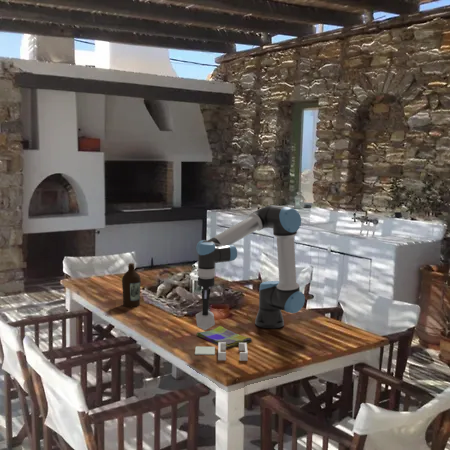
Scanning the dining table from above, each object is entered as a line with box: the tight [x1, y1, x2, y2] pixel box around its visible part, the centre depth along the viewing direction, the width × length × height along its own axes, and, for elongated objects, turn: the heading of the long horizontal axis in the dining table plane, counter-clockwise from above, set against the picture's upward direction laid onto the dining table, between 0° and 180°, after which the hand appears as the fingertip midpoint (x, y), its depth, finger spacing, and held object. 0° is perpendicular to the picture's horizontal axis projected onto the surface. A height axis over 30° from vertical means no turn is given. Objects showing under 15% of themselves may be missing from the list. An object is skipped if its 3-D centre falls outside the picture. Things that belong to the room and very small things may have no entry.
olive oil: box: [121, 262, 142, 308], centre depth 327 cm, size 11×11×25 cm
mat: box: [194, 345, 216, 356], centre depth 259 cm, size 9×9×1 cm
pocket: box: [217, 342, 249, 362], centre depth 255 cm, size 13×13×4 cm
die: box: [195, 310, 216, 331], centre depth 255 cm, size 8×9×10 cm
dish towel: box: [196, 325, 253, 349], centre depth 277 cm, size 18×24×3 cm
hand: (205, 327), depth 258 cm, fingers closed on die, 4 cm apart
